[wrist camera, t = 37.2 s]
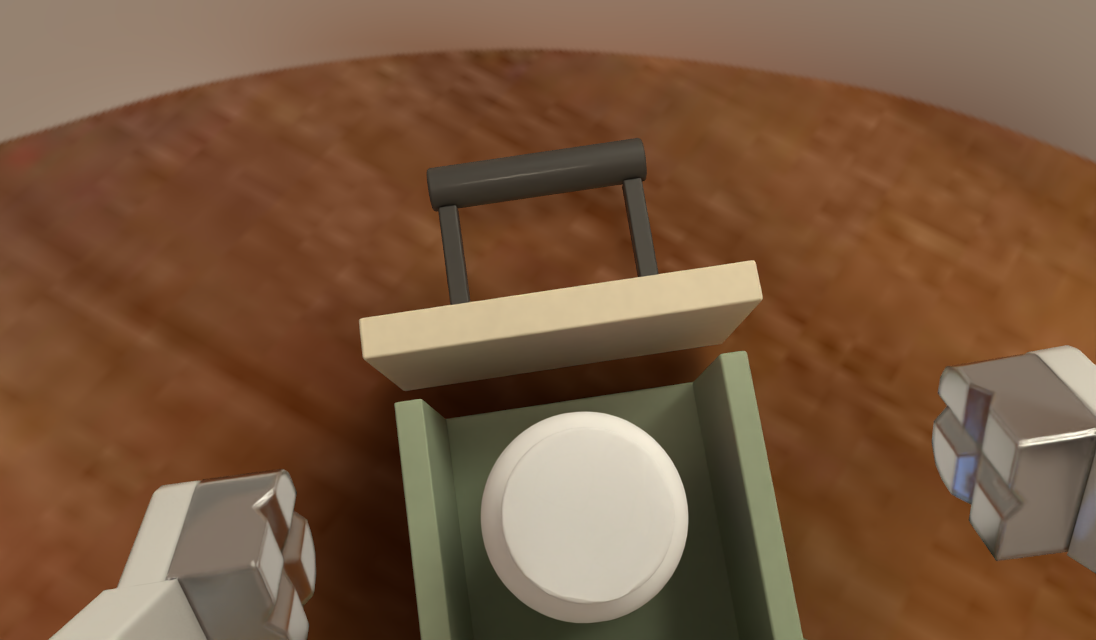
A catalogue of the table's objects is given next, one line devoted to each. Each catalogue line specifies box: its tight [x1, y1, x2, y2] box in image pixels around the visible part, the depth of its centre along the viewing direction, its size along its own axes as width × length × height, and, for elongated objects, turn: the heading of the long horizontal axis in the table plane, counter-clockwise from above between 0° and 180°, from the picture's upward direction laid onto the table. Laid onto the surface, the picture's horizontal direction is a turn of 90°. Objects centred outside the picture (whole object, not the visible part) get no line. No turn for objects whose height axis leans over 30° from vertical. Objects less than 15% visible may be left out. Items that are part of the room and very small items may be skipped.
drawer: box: [359, 138, 803, 640], centre depth 28 cm, size 21×11×7 cm, turn 8°
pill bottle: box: [481, 412, 688, 623], centre depth 26 cm, size 5×5×10 cm
